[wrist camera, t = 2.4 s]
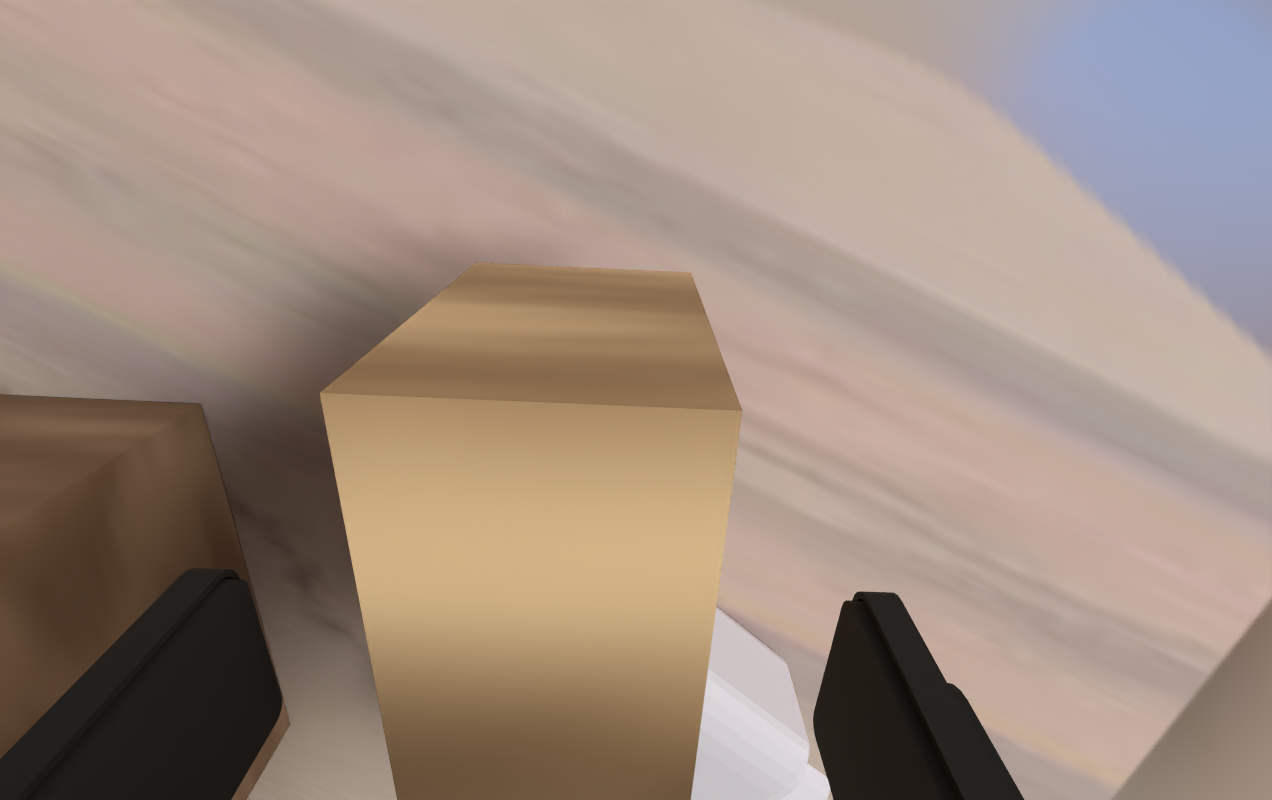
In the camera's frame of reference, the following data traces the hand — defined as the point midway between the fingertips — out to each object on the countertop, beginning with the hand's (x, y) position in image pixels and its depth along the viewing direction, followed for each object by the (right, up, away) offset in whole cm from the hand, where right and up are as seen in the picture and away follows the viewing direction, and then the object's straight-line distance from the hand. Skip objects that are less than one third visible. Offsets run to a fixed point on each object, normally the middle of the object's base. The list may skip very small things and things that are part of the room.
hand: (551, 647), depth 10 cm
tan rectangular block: (0, +3, +8) cm, 9 cm away
